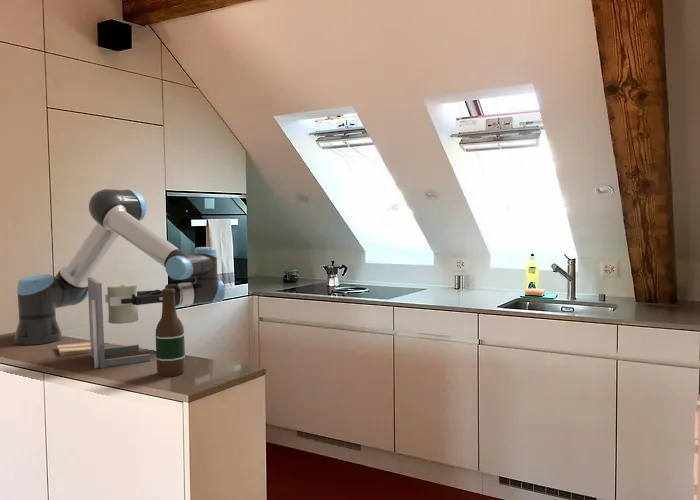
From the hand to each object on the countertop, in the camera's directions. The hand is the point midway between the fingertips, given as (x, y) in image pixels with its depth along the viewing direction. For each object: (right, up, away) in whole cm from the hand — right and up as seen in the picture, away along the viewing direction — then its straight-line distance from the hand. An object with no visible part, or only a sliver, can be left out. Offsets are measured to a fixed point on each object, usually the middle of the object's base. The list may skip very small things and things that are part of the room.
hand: (107, 300), depth 199 cm
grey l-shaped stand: (+5, -18, -5) cm, 19 cm away
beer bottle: (+27, -19, -24) cm, 41 cm away
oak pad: (-12, -17, +9) cm, 23 cm away
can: (+4, -7, +3) cm, 9 cm away
